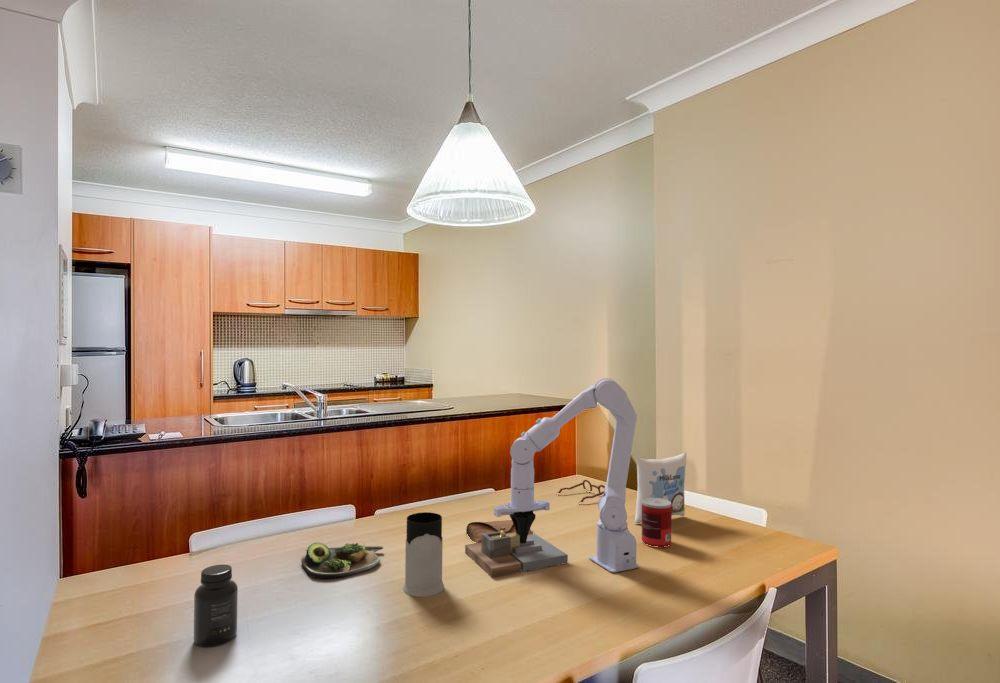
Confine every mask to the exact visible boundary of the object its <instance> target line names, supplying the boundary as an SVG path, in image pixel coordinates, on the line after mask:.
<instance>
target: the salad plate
mask: <svg viewBox="0 0 1000 683" xmlns="http://www.w3.org/2000/svg"><path fill="white" fill-rule="evenodd" d="M365 545H366V543H363V544H362V545H361V544H359V543H358V542H356V543H345V545H339V546H336V547H328V546H327V545H326V544H325V543H322V542H313V543H310V545H309V546H308V547H307V549H305V554H304V555H303V556H302V557H301V559H300V561H301V562H300V563H301V565H302V568H303V569H304V571H305V573H306V574H307V573H308V574H307V575H308V576H310V577H311V576H312V578H314V579H317V578H319V580H334V579H340V578H344V577H347V576H351V575H356V574H359V573H362V572H366V571H367V570H368V571H369V570H370V569H373V568H374V567H376V566H377V565H378V564H379V563H380V562H381V558H380V557H379V556H378V555H377V554H375V553H376V552H378V551H381V550H383V549H384V546H381V545H380V546H379V545H377V546H374V545H373V546H365ZM363 562H364V563H363ZM360 563H363V564H365V566H364V567H360V568H357V569H352V570H350V568H351V567H352V566H353V565H358V564H360Z"/></svg>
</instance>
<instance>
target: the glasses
mask: <svg viewBox="0 0 1000 683" xmlns="http://www.w3.org/2000/svg"><path fill="white" fill-rule="evenodd" d="M586 482H587V483H588V485H589V488H590V490H589V491H593V488H595V489H597V490H598V493H596V494H593V495H590V496H589V495H587V496H584V497H582V499H581V500H580V501H579V503H580V502H582V503H584V501H585V500H587V499H594V498H596V497H598V496H600V495H603V494H604V490H605V485H603V484H600V485H598V486H597V485H595V484H592V483H591V482H590V481H589V480H588V479H584V480H582V482H580V483H578V484H575V485H572V486H570V487H562V488H560V489H559V490H558V492H557V493H560V494H561V493H562V491H563V490H573V489H575V488H577V487H580V486H582V487H583V490H584V489H586V490H587V488H586V484H585V483H586ZM601 488H603V489H604V490H603V491H601Z"/></svg>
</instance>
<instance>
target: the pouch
mask: <svg viewBox="0 0 1000 683" xmlns="http://www.w3.org/2000/svg"><path fill="white" fill-rule="evenodd" d="M686 465H687V452H686V451H685V452H683V453H680V454H678V455H675V456H671V457H665V458H661V459H656V458H648V459H644V458H642V457H639V456H636V474H637V476H636V478H637V480H636V481H637V490H636V491H637V494H636V501H635V502H636V503H635V516H634V524H635V523H638V524H640V523H642V500H643V499H646V498H661V499H666V500H668V501H670V502H671V505H672V516H680V517H683V516H684V517H685V515H686V514H685V513H686V512H685V508H686V507H685V483H686V482H685V480H686Z"/></svg>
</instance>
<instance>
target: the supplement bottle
mask: <svg viewBox="0 0 1000 683" xmlns="http://www.w3.org/2000/svg"><path fill="white" fill-rule="evenodd" d="M232 569H233V567H232V566H231V565H229V564H224V563H223V564H214V565H210V566H208V567H205V568H204V569H202V570H201V572H200V585H199V586H198V587H197V588H196V589H195V591H194V595H193V596H194V597H193V599H194V600H193V642H194V643H195V645H197V646H199V647H201V648H211V647H213V648H214V647H218V646H221V645H224V644H226V643H228V642H230V641H231V640H232V639H233V638H235V637H236V635H237V631H238V604H239V603H238V600H239V599H238V598H239V597H238V594H239V593H238V592H239V590H238V589H239V588H238V584H237V583H236V581H234V580H232V578H233V574H232V572H233V571H232Z"/></svg>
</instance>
